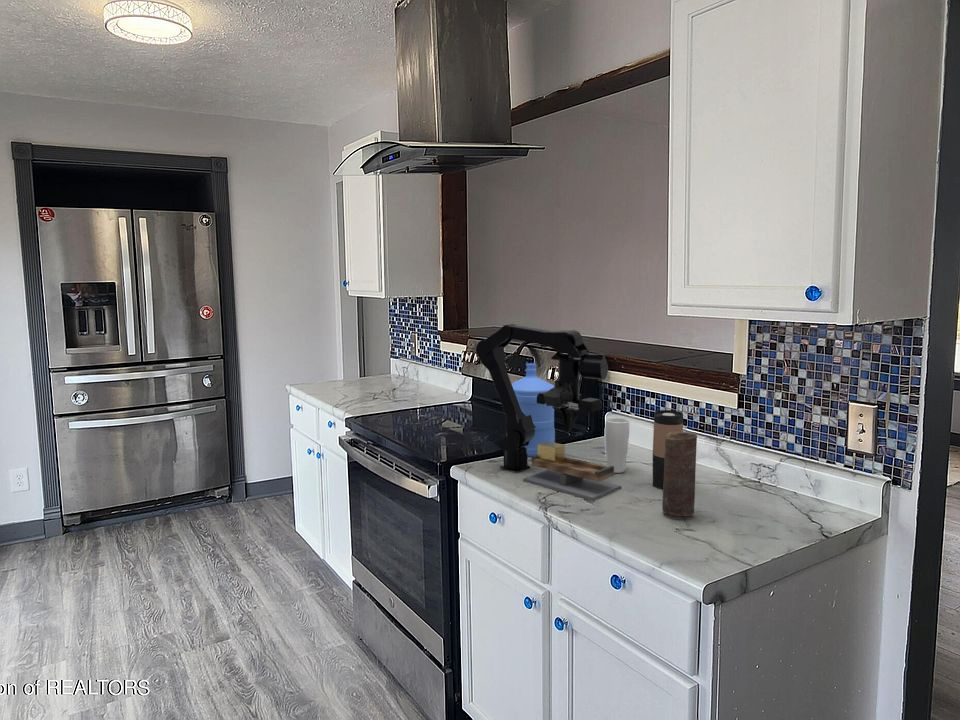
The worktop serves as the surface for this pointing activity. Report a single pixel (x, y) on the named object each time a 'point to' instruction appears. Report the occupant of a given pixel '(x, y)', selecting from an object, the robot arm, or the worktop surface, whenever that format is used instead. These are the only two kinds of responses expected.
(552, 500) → the worktop surface
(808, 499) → the worktop surface
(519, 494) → the worktop surface
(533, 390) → the water jug
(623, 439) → the drinking glass
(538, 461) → the beam
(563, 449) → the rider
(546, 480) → the stand
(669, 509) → the candle
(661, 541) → the worktop surface
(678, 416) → the travel mug
